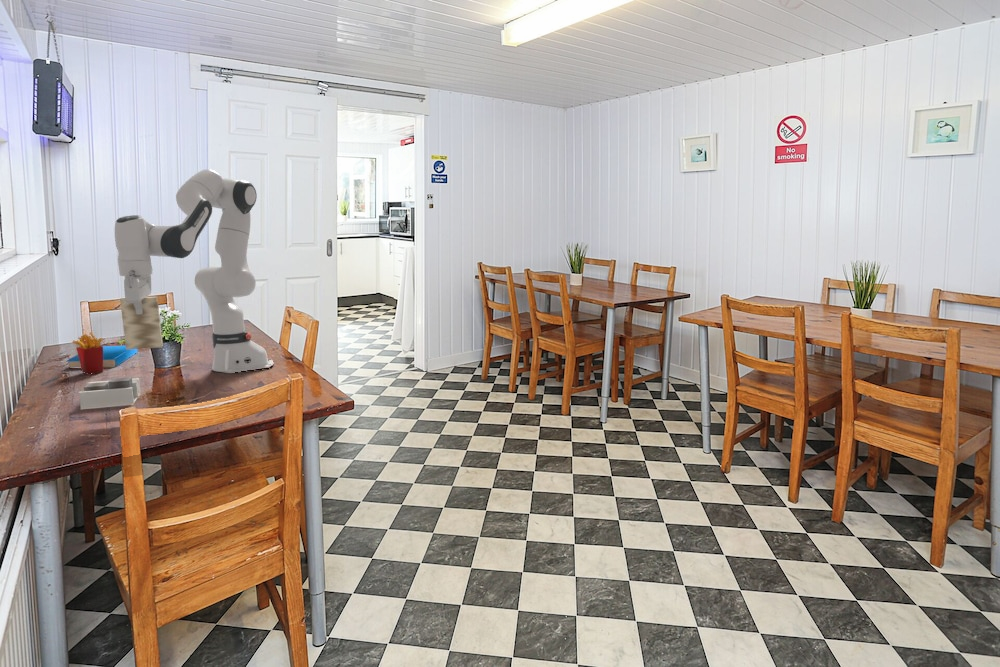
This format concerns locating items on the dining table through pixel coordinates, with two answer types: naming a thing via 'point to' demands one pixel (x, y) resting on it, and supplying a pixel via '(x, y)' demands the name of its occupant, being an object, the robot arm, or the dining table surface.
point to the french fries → (90, 354)
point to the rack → (110, 396)
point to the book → (108, 356)
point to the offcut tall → (120, 383)
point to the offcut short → (96, 386)
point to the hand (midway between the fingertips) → (141, 313)
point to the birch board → (142, 324)
